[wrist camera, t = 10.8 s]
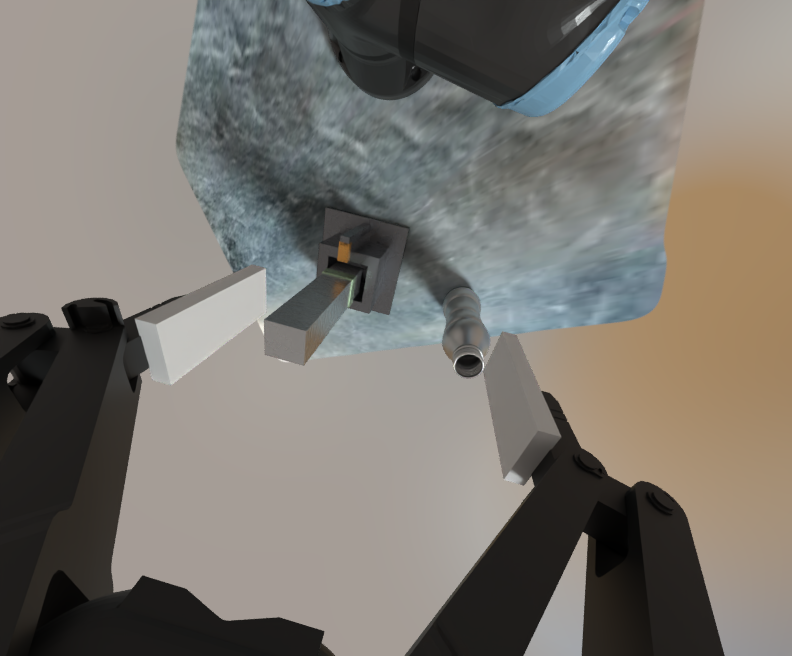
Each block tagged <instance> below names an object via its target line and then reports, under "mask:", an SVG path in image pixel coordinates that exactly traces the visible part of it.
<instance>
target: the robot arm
mask: <svg viewBox="0 0 792 656" xmlns="http://www.w3.org/2000/svg"><path fill="white" fill-rule="evenodd" d="M306 1H307V3H308V4H309V5H310V6H311V7H312V9H313V10H314V11H315V12H316V14H317V15H318V16H319V17H320V18H321V20H322V21H323V22H324V23H325V24H326V26H327V27H328V32H329V37H330V41H331V44H332V47H333V50H334V53H335V55H336V57H337V60H338V62H339V63H340V65H341V67H342V69H343V70H344V72H345V73H346V74H347V76H348V77H349V78H350V79H351V80H352V81H353V82H354V83H355V84H356V85H357V86H358V87H359V88H360V89H361V90H362V91H364V92H365V93H367V94H368V95H370V96H373V97H375V98H378V99H383V100H397V99H401V98H405V97H407V96H409V95H411V94H413V93H415V92H416V91H418V90H419V89H420V88H422V87H423V86H424V85H425V84H426V83H427V82H428V81H429V80H430V78H431V77H432V76H433V75H434V74H435V75H437V76H439V77H441V78H443V79H445V80H447V81H449V82H451V83H453V84H456V85H458V86H460V87H462V88H464V89H466V90H468V91H470V92H472V93H474V94H476V95H478V96H480V97H482V98H484V99H486V100H488V101H491V102H493V104H494V105H495V106H496V107H498V108H502V109H506V108H508V109H511V110H513V111H516V112H518V113H521V114H523V115H526V116H529V117H538V116H543V115H545V114H548V113H550V112H552V111H553V110H555V109H556V108H558V107H559V106H561V105H562V104H563V103H564V102H566V101H567V100H568V99H569V98H570V97H571V96H572V95H573V94H575V93H576V92H577V91H578V90H579V89H580V88H581V87H582V86H583V85H584V84H585V82H586V81H587V80H588V79H589V78H590V77H591V76H592V75H593V74H594V73H595V71H596V70H597V69H598V68H599V67H600V66H601V64H602V63H603V62H604V61H605V60H606V59H607V57H608V56H609V55H610V54H611V52H612V51H613V50H614V49H615V47H616V46H617V45H618V44H619V42H620V41H621V39H622V38H623V36H624V35H625V31H626V29H627V27H628V25H629V24H630V23H631V22H632V21H633V20H634V19H635V18H636V17H637V16H638V14H639V13H640V12H641V11H642V10H643V9H644V7H645V6H646V4H647V3H648V1H649V0H306ZM62 311H63V314H64V316H65V318H66V320H67V323H68V325H69V327H70V328H59V327H58V328H57V327H53V326H52V324H51V321H50V319H49V317H48V316H46V315H44V314H40V313H17V314H9V315H7V316H4V317H0V656H335V655H334V654H333V653H332V652H331V651H330V650H329V649H328V648H327V647H326V646H324V645H323V644H322V639H323V635H324V631H322V630H318V629H315V628H312V627H309V626H306V625H302V624H299V623H296V622H293V621H289V620H286V619H283V618H279V617H278V618H263V619H248V620H234V621H226V620H222V619H221V618H219V617H218V616H217V615H216V614H214V613H213V612H212V611H211V610H210V609H209V608H207V606H205V605H204V604H203V603H202V602H201V601H200V600H198V599H197V598H196V597H195V596H194V595H193V594H192V593H190V592H189V591H188V590H187V589H185V588H182V587H178V586H175V585H172V584H169V583H165V582H162V581H159V580H155V579H152V578H149V577H146V576H142V577H141V578H140V579H139V581H138V582H137V583H136V585H135V586H134V587H133V588H132V589H130V590H125V591H120V592H115V593H113V581H112V573H111V563H112V555H113V549H114V544H115V538H116V532H117V525H118V519H119V514H120V508H121V502H122V495H123V490H124V484H125V478H126V472H127V466H128V460H129V455H130V449H131V443H132V437H133V431H134V425H135V419H136V413H137V407H138V401H139V395H140V389H141V383H142V380H141V376H140V373H142V372H143V371H145V370H147V369H148V368H149V370H150V374H151V377H152V380H154V381H157V382H161V383H165V384H168V385H172V384H173V383H175V382H176V381H177V380H179V379H180V378H181V377H183V376H184V375H185V374H186V373H188V372H189V371H190V370H191V369H193V368H194V367H196V366H197V365H198V364H200V363H201V362H202V361H204V360H205V359H206V358H207V357H209V356H210V355H211V354H212V353H214V352H215V351H217V350H218V349H219V348H221V347H222V346H223V345H224V344H226V343H227V342H228V341H230V340H231V339H232V338H234V337H235V336H236V335H238V334H239V333H240V332H241V331H243V330H244V329H245V328H247V327H248V326H249V325H251V324H252V323H253V322H255V321H256V320H257V319H259V318H260V317H261V316H263V315H264V314H265V313H266V268H263V267H259V266H256V265H250V266H248V267H246V268H244V269H242V270H239V271H237V272H235V273H233V274H231V275H229V276H227V277H224V278H222V279H220V280H218V281H216V282H213V283H211V284H209V285H207V286H205V287H203V288H200V289H198V290H196V291H194V292H192V293H189V294H187V295H183V296H178V297H174V298H171V299H169V300H167V301H164V302H162V303H161V304H158V305H155V306H154V307H152V308H149V309H146V310H144V311H142V312H140V313H138V314H135V315H133V316H131V317H128V318H126V319H124V320H123V319H122V315H121V313H120V309H119V306H118V303H117V302H116V301H114V300H113V299H107V298H86V299H81V300H77V301H73V302H70V303H68V304H66V305H64V306H63V307H62ZM10 372H11V374H12V375H13V377H14V379H13V380H12V381H11V382H9V383H7V377H8V374H9V373H10ZM483 373H484V377H485V383H486V389H487V394H488V399H489V405H490V410H491V415H492V420H493V426H494V431H495V436H496V441H497V446H498V452H499V457H500V462H501V467H502V473H503V478H504V480H507V481H510V482H513V483H517V484H521V485H525V484H526V482H527V481H528V480H529V478H530V477H531V476H532V479H533V482H534V486H535V487H534V488H533V489H532V491H531V492H530V493H529V494H528V496H527V497H526V498H525V499H524V500H523V502H522V503H521V505H520V506H519V507H518V509H517V510H516V511H515V513H514V514H513V515H512V516H511V518H510V519H509V521H508V522H507V523H506V524H505V526H504V527H503V528H502V530H501V531H500V532H499V533H498V535H497V536H496V537H495V539H494V540H493V541H492V543H491V544H490V545H489V546H488V548H487V549H486V550H485V552H484V553H483V554H482V556H481V557H480V558H479V560H478V561H477V562H476V563H475V565H474V566H473V567H472V569H471V570H470V571H469V573H468V574H467V575H466V576H465V578H464V579H463V580H462V582H461V583H460V584H459V586H458V587H457V588H456V589H455V591H454V592H453V593H452V595H451V596H450V597H449V599H448V600H447V601H446V603H445V604H444V605H443V606H442V608H441V609H440V610H439V612H438V613H437V614H436V615H435V617H434V618H433V619H432V621H431V622H430V623H429V625H428V626H427V627H426V629H425V630H424V631H423V632H422V634H421V635H420V636H419V638H418V639H417V640H416V642H415V643H414V644H413V645H412V647H411V648H410V649H409V651H408V652H407V653H406V655H405V656H523V655H524V653H525V651H526V649H527V647H528V645H529V643H530V641H531V638H532V637H533V634H534V632H535V630H536V628H537V626H538V624H539V622H540V620H541V618H542V616H543V614H544V611H545V609H546V607H547V605H548V603H549V601H550V599H551V597H552V595H553V593H554V591H555V589H556V586H557V584H558V582H559V580H560V578H561V576H562V574H563V572H564V570H565V567H566V565H567V563H568V561H569V559H570V557H571V555H572V553H573V551H574V549H575V547H576V545H577V542H578V540H579V538H580V536H581V534H582V532H584V533H586V534H588V551H587V569H586V589H585V606H584V624H583V643H582V656H724V652H723V648H722V645H721V641H720V637H719V634H718V630H717V626H716V623H715V619H714V615H713V611H712V608H711V604H710V601H709V597H708V593H707V590H706V586H705V583H704V578H703V574H702V571H701V567H700V564H699V560H698V556H697V552H696V549H695V546H694V541H693V537H692V534H691V530H690V527H689V523H688V519H687V517H686V515H685V512H684V511H683V509H682V508H681V507H680V505H679V504H678V503H677V502H676V501H675V500H674V499H673V498H672V497H671V496H670V495H669V494H668V493H666V492H665V491H663V490H662V489H661V488H659V487H658V486H655V485H653V484H651V483H649V482H644V481H640V482H637V483H636V484H635V485H634V486H632V487H628V486H627V485H625V484H623V483H621V482H619V481H617V480H615V479H613V478H611V477H610V476H608V474H607V472H606V470H605V468H604V466H603V465H602V464H601V462H600V461H599V460H598V459H597V458H596V457H594V456H593V455H592V454H591V453H589V452H587V451H586V450H584V449H582V448H581V447H580V445H579V443H578V441H577V439H576V437H575V435H574V433H573V431H572V429H571V427H570V425H569V423H568V422H567V419H566V417H565V415H564V414H563V411H562V409H561V407H560V405H559V403H558V401H556V399H555V398H554V397H553V396H552V395H551V394H550V393H547V392H544V391H541V390H540V387H539V385H538V383H537V381H536V378H535V376H534V374H533V372H532V369H531V367H530V365H529V363H528V360H527V358H526V356H525V354H524V351H523V349H522V347H521V344H520V342H519V340H518V338H517V335H514V334H510V333H506V332H503V331H502V333H501V335H500V338H499V339H498V342H497V344H496V346H495V348H494V350H493V352H492V354H491V356H490V358H489V360H488V363H487V365H486V367H485V369H484V371H483ZM320 646H321V647H320Z"/></svg>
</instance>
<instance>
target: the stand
mask: <svg viewBox="0 0 792 656" xmlns="http://www.w3.org/2000/svg"><path fill="white" fill-rule="evenodd" d="M408 233H409V228H408V227H404V226H400V225H396V224H392V223H388V222H384V221H380V220H377V219H373V218H369V217H365V216H361V215H357V214H353V213H350V212H346V211H342V210H338V209H334V208H330V207H326V209H325V221H324V233H323V241H322V242H320V243H319V255H318V268H317V277H319V276H320V275H321V274H322V271H324V270H325V269H326V268H330V267H331V266H332V265H334V264H335V263H336V262H342V263H346V264H350V265H354V266H357V267H361V268H363V271H362V277H361V283H360V289H359V293H358V294H357V295H356V297H355V298H354V299H353V302H352V304H351V306H350V307H349V308H350V309H354V310H358V311H361V312H365V313H370V312H371V310H372V311H376V312H379V313H383V314H387V315H389V314H390V310H391V306H392V302H393V297H394V293H395V289H396V285H397V280H398V276H399V272H400V267H401V263H402V259H403V254H404V250H405V246H406V241H407V237H408ZM347 308H348V307H347Z"/></svg>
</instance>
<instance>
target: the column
mask: <svg viewBox="0 0 792 656" xmlns="http://www.w3.org/2000/svg"><path fill="white" fill-rule="evenodd" d="M362 271H363V268H361V267H357V266H354V265H350V264H346V263H342V262H336V263H335V264H334V265H332V266H331V267H330V268H326V269H325V270H324V271H322V274H321V275H320V276H319V277H317V278H316V279H315V280H314V281H312V282H311V283H310V284H308V285H307V286H306V287H305V288H303V289H302V290H301V291H300V292H298V293H297V294H296V295H295V296H293V297H292V298H291V299H290V300H288V301H287V302H286V303H284V304H283V305H282V306H281V307H279V308H278V309H277V310H276V311H274V312H273V313H272V314H271V315H269V316H268V317H267V318H266V319H264V339H265V355H267V356H271V357H275V358H278V359H282V360H285V361H289V362H293V363H296V364H300V365H305V363H306V362H307V361H308V360H309V358H310V357H311V356H312V354H313V353H314V352H315V351H316V349H317V347H318V346H319V345H320V344H321V343H322V341H323V339H324V338H325V337H326V336H327V334H328V333H329V331H330V330H331V329H332V328H333V326H334V325H335V323H336V322H337V321H338V320H339V318H340V317H341V315H342V314H343V313H344V312H345V310H346V309H347V307H348V308H349V307H350V306H351V304H352V302H353V299H354V298H355V297H356V295H357V294H358V293H359V289H360V283H361V277H362Z"/></svg>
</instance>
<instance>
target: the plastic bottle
mask: <svg viewBox="0 0 792 656" xmlns="http://www.w3.org/2000/svg"><path fill="white" fill-rule="evenodd" d="M480 312H481V302H480V299H479V297H478V296H477V294H476V293H475V292H474V291H472V290H471V289H469V288H465V287H459V288H455V289H453V290H452V291H450V292H449V293H448V294H447V296H446V297H445V299H444V302H443V313H444V316H445V318H446V328H445V331H444V334H443V340H442V346H443V349H444V351H445V353H446V355H447V356H448V358H449V359H451V360H452V362H453V368H454V371H455V372H456V374H458V375H459V376H460V377H463V378H467V379H470V378H474V377H477V376H478V375H480V374H481V373H482V371H483V369H484V357H485V356H486V354H487V353H488V350H489V346H490V336H489V333H488V331H487V329H486V327H485V326H484V324H483V323H482V320H481V318H480Z"/></svg>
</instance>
